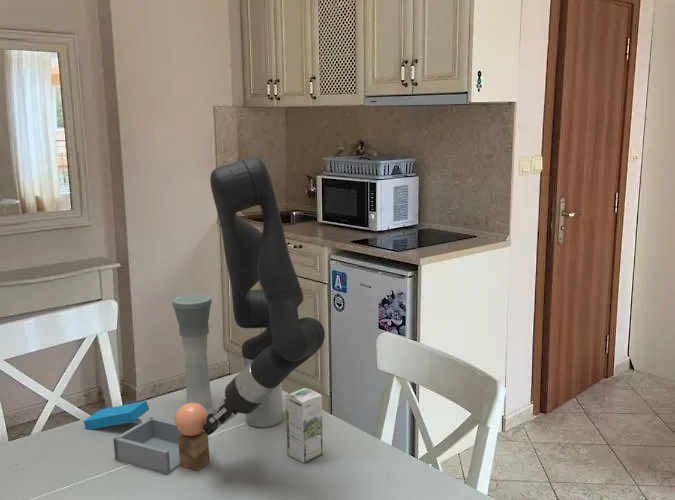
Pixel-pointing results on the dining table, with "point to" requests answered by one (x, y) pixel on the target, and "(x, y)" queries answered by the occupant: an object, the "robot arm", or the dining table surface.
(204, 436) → the wooden block
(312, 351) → the robot arm
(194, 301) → the container
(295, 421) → the syrup box
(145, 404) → the lever
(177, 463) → the tray
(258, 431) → the dining table surface
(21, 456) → the dining table surface
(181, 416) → the ball
